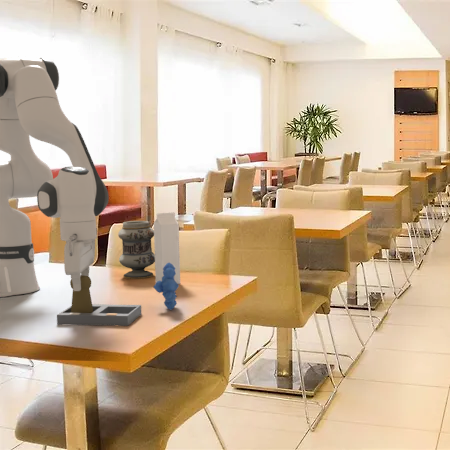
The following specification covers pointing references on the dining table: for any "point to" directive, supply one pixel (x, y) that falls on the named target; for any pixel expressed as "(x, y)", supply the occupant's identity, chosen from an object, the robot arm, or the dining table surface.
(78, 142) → the robot arm
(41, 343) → the dining table surface
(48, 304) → the dining table surface
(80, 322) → the panel
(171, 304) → the grapes
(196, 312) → the dining table surface
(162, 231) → the milk
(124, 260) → the apothecary jar
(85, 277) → the cork
